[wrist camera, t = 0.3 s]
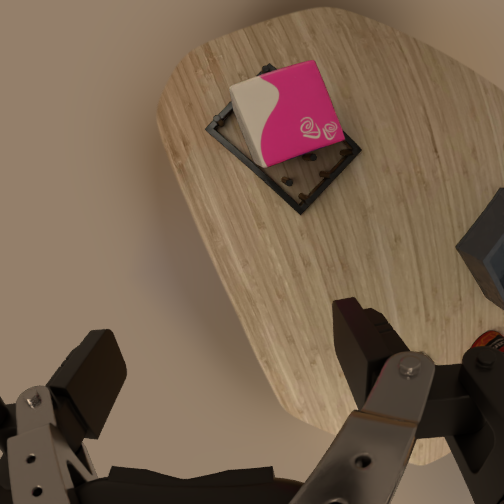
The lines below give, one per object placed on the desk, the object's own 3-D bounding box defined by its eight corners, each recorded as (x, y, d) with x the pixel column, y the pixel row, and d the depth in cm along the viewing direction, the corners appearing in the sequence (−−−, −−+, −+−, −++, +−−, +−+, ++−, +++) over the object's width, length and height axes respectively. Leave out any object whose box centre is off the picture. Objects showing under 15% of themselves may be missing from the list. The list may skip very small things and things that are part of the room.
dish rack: (206, 130, 29) (200, 126, 25) (268, 66, 27) (271, 53, 23) (298, 213, 31) (305, 221, 27) (358, 150, 29) (373, 149, 25)
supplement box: (255, 166, 30) (260, 170, 19) (232, 110, 28) (224, 81, 17) (312, 146, 29) (348, 139, 18) (289, 90, 27) (313, 53, 16)
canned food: (495, 319, 35) (540, 356, 25) (503, 349, 37) (541, 385, 27) (459, 353, 37) (499, 398, 26) (469, 380, 39) (504, 422, 28)
